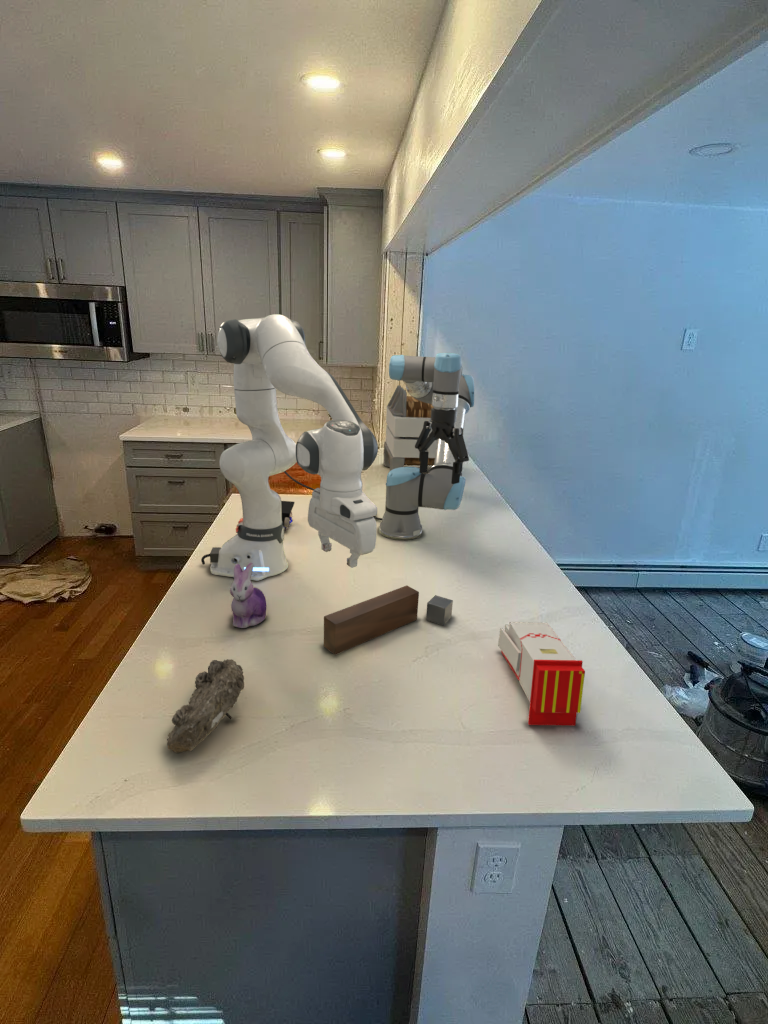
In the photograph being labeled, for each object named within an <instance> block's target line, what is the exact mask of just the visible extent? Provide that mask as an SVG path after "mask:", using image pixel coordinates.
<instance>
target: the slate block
mask: <svg viewBox="0 0 768 1024" xmlns="http://www.w3.org/2000/svg"><path fill="white" fill-rule="evenodd" d="M453 603H454V600H453V599H450V598H446V597H443V596H440V595H436V594H435V595H434V596H433V597H431V599H430V600H429V601H428V602H427V603H426V613H425V621H428V622H430V623H433V624H437V625H440V626H445V625H446V624H447V623H448V622H449V621H450V620H451V619H452V614H453Z"/></svg>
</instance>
